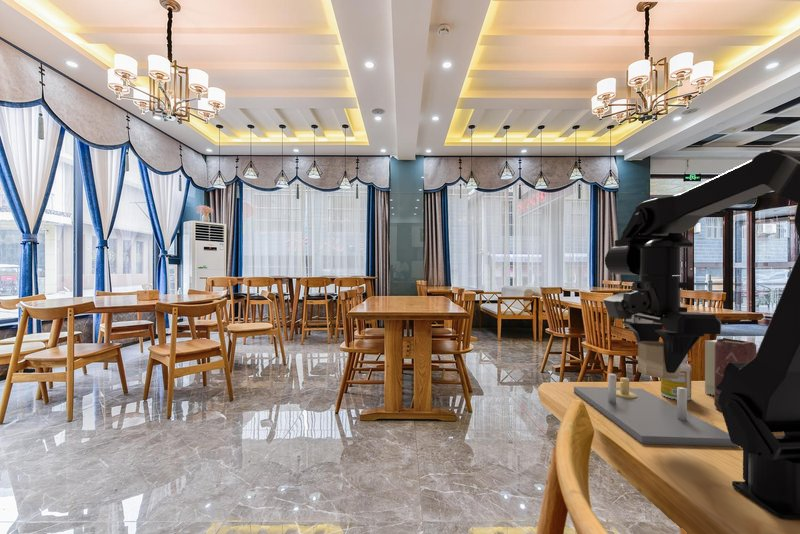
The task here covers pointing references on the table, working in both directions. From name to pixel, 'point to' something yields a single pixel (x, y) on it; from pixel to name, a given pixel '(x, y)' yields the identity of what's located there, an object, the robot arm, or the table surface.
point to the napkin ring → (654, 360)
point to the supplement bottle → (678, 382)
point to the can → (730, 358)
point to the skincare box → (710, 366)
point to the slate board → (652, 415)
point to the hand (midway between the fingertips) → (658, 367)
